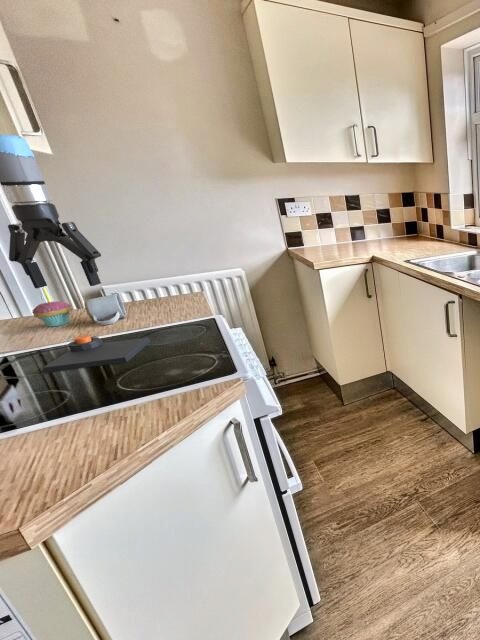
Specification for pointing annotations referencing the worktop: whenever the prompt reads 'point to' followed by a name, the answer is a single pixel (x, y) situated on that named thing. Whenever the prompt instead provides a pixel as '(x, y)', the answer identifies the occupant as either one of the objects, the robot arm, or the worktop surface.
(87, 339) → the button
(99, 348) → the scale
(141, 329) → the worktop surface
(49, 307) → the cupcake
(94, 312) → the ceramic mug
